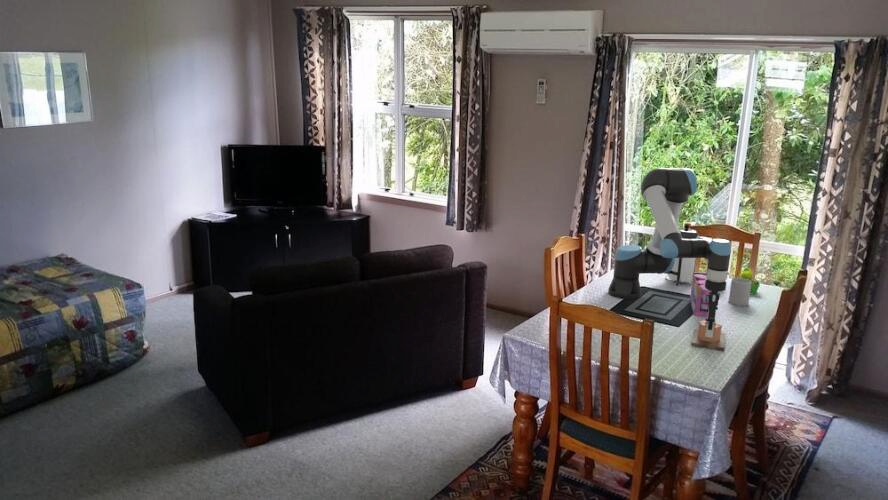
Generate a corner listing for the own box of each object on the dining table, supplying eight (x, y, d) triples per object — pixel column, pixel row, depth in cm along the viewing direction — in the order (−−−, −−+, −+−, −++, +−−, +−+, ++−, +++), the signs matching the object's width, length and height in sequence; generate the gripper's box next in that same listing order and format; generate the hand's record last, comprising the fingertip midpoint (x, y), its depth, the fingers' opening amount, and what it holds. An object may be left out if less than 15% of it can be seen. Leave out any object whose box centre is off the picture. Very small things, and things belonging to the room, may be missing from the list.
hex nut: (719, 343, 261) (721, 328, 259) (696, 339, 264) (698, 325, 262) (720, 336, 267) (722, 322, 266) (697, 333, 270) (699, 319, 269)
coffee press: (668, 275, 351) (674, 219, 344) (699, 281, 342) (706, 223, 335) (657, 283, 338) (663, 225, 330) (689, 289, 329) (696, 230, 321)
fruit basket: (732, 292, 326) (735, 270, 324) (732, 287, 334) (735, 265, 332) (758, 295, 323) (761, 272, 320) (757, 290, 331) (760, 268, 328)
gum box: (713, 319, 290) (717, 289, 287) (694, 317, 292) (697, 287, 289) (707, 301, 313) (710, 273, 309) (689, 299, 315) (692, 271, 311)
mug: (748, 307, 306) (751, 284, 303) (727, 304, 309) (731, 281, 306) (748, 299, 316) (752, 277, 313) (729, 296, 320) (732, 274, 317)
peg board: (690, 345, 261) (693, 320, 258) (693, 331, 275) (696, 308, 273) (724, 350, 257) (727, 325, 254) (724, 336, 271) (728, 312, 268)
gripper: (726, 289, 247) (718, 343, 252) (727, 272, 269) (720, 322, 275) (704, 287, 250) (697, 340, 255) (707, 269, 272) (701, 319, 277)
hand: (709, 331), depth 265 cm, fingers open, 13 cm apart
